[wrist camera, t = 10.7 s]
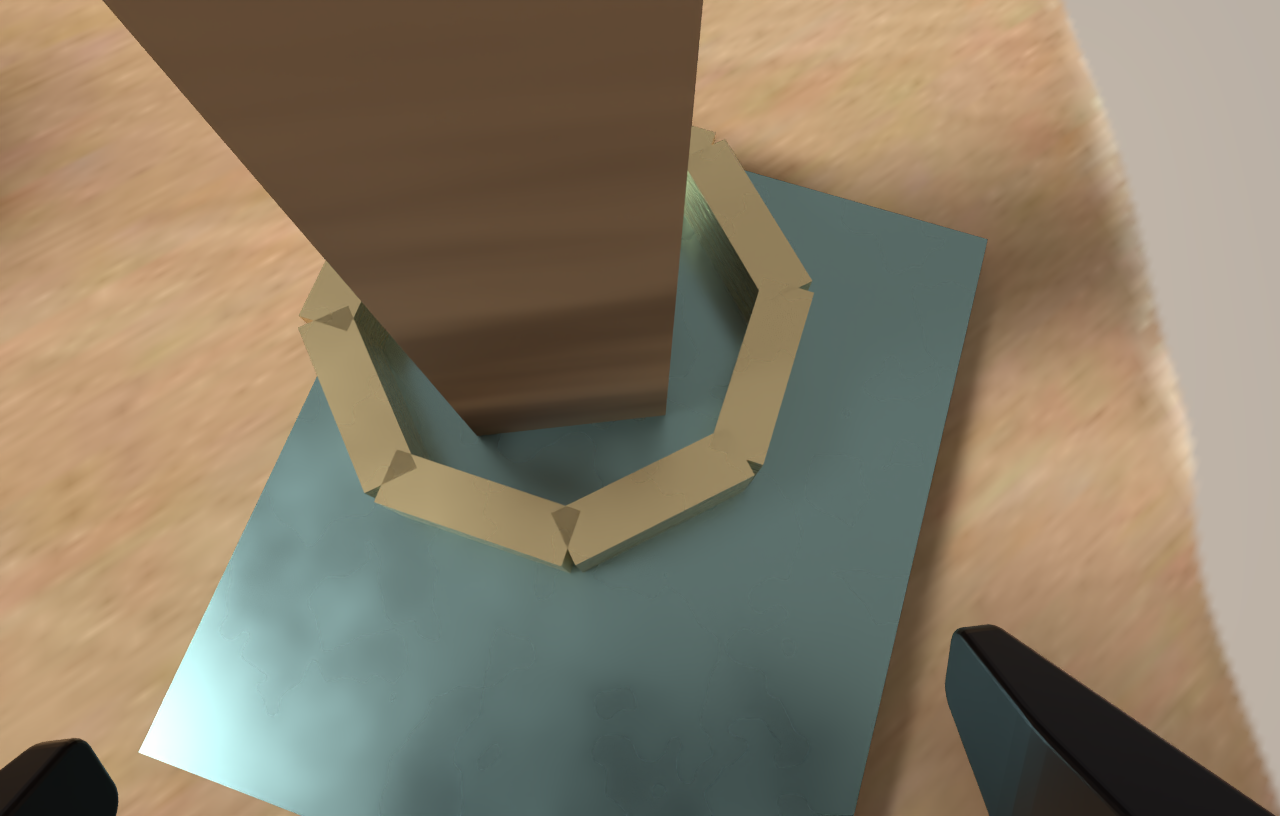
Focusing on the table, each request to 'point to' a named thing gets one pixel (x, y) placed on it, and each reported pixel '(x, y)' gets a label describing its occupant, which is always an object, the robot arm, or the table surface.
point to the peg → (470, 176)
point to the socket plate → (628, 643)
